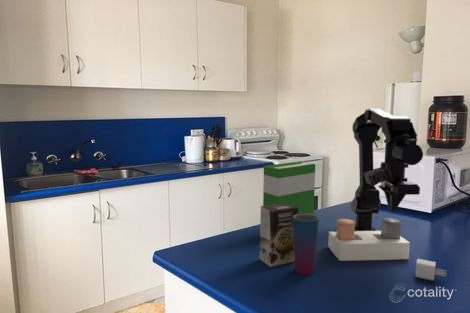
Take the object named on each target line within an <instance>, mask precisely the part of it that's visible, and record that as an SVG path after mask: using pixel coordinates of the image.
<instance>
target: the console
mask: <svg viewBox="0 0 470 313" xmlns="http://www.w3.org/2000/svg"><path fill="white" fill-rule="evenodd" d="M336 232H337V231H328V243H327V244H328V245H327V247H328V248H329V249H330V251H331V252H332V253H333V255H334V256H335V257H336V258H337V260H338V261H341V262H342V261H344V262H345V261H347V262H348V261H386V260H387V261H388V260H393V261H394V260H409V259H410V246H411V245H410V244H411V243H410V241H408V240H407V239H405V238H404V237H402V236H401V235H400V239H384V238H383V237H381V230H376V231H358V230H354V240H339V239H338V238H337V236H336Z"/></svg>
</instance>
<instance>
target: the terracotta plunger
mask: <svg viewBox="0 0 470 313" xmlns="http://www.w3.org/2000/svg"><path fill="white" fill-rule="evenodd" d="M355 223H356V221H355V220H352V219H348V218H339V219H337V220H336V231H335V232H336V236H337V238H338V239H339V240H354V231H356V229H355Z"/></svg>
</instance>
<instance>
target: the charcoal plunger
mask: <svg viewBox="0 0 470 313" xmlns="http://www.w3.org/2000/svg"><path fill="white" fill-rule="evenodd" d="M380 224H381V226H380V227H381V228H380V231H381V237H383V238H384V239H400V236H401V228H402V224H401V220H399V219H398V218H392V217H384V218H383V217H382V219H381V222H380Z"/></svg>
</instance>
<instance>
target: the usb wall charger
mask: <svg viewBox="0 0 470 313" xmlns="http://www.w3.org/2000/svg"><path fill="white" fill-rule="evenodd" d="M435 275H436V276H442V277H447V270H445V269H440V268H436V261H430V260H427V259H421V258H417V259H416V264H415V276H414V277H415V278H419V279H423V280H428V281H433V282H434V281H435Z"/></svg>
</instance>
